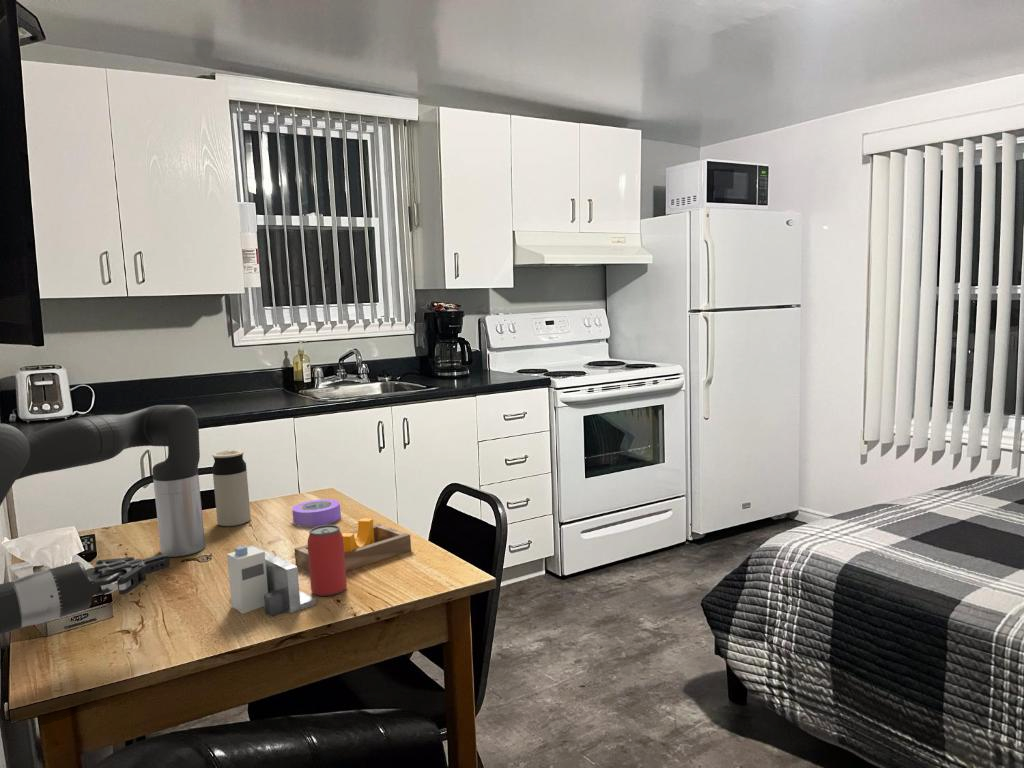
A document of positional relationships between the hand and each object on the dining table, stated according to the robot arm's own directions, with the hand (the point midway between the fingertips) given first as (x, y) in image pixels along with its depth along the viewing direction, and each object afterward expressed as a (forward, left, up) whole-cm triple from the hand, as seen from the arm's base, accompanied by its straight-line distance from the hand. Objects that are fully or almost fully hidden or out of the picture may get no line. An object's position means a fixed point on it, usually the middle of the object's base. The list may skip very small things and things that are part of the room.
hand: (167, 560), depth 124 cm
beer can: (+6, +26, -12) cm, 30 cm away
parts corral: (-6, +39, -12) cm, 42 cm away
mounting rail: (+1, +16, -12) cm, 20 cm away
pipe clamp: (-6, +39, -12) cm, 42 cm away
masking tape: (-38, +48, -13) cm, 63 cm away
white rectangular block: (+1, +13, -12) cm, 18 cm away
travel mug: (-53, +33, -12) cm, 64 cm away
